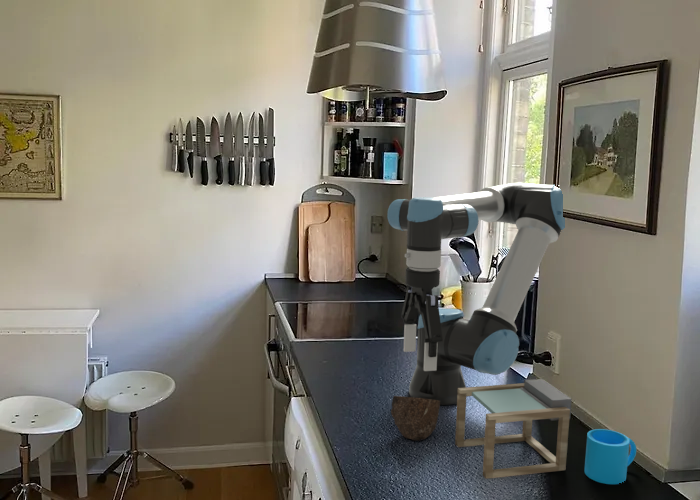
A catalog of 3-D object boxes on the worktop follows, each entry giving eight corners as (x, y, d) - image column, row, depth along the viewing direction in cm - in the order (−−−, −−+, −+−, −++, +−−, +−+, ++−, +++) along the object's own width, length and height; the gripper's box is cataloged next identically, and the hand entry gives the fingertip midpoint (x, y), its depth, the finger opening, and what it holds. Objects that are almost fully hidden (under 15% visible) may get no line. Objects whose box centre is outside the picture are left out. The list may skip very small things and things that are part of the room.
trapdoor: (471, 403, 151) (472, 384, 150) (541, 397, 155) (542, 379, 154) (495, 425, 140) (496, 405, 139) (570, 418, 144) (571, 398, 143)
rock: (431, 403, 165) (454, 392, 157) (434, 446, 161) (457, 437, 153) (385, 397, 161) (406, 385, 153) (387, 441, 156) (408, 432, 148)
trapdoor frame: (455, 444, 154) (457, 388, 152) (527, 437, 158) (531, 382, 156) (485, 478, 139) (489, 416, 137) (565, 470, 143) (570, 409, 141)
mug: (604, 487, 136) (607, 449, 135) (575, 469, 144) (578, 432, 142) (649, 476, 141) (652, 439, 140) (619, 459, 149) (622, 423, 147)
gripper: (389, 258, 163) (387, 344, 166) (426, 279, 139) (422, 380, 142) (419, 257, 165) (416, 343, 168) (461, 278, 141) (456, 378, 144)
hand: (419, 360), depth 155 cm, fingers open, 13 cm apart
